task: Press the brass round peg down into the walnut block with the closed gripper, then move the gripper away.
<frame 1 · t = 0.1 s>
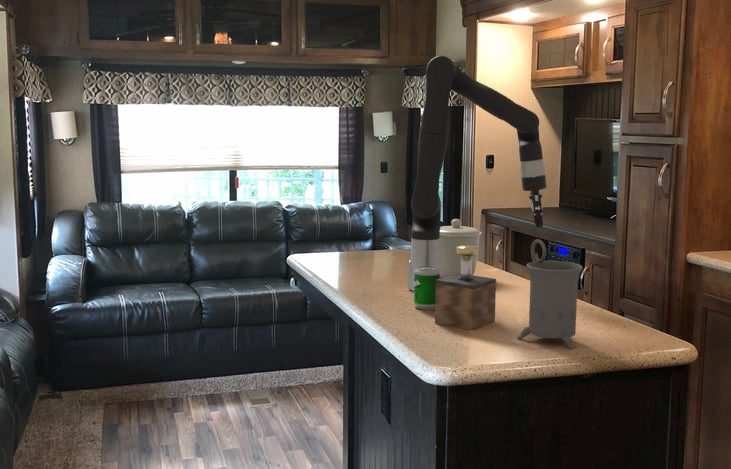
hand: (538, 225, 249), 22 cm above the worktop, tool pointing down, fingers open, 8 cm apart
canister: (454, 278, 279), on the worktop
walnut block: (465, 322, 217), on the worktop
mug: (549, 340, 200), on the worktop
brass round peg: (466, 268, 215), point 15 cm above the worktop, slide at 7.0 cm
soda can: (426, 307, 234), on the worktop
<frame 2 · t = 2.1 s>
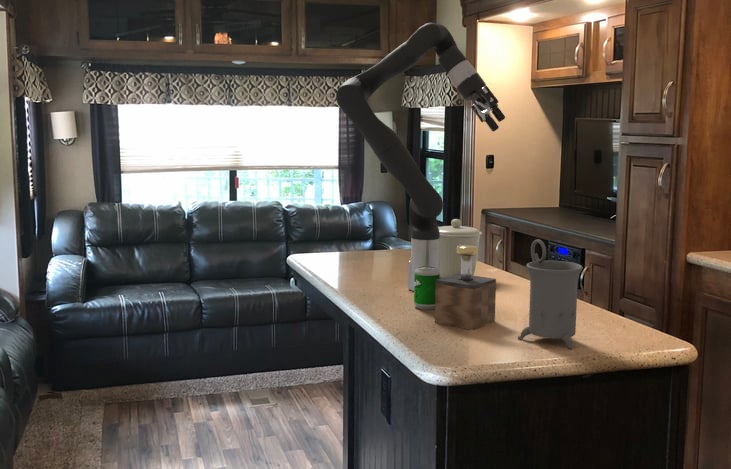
hand: (499, 125, 224), 54 cm above the worktop, tool tilted 40°, fingers open, 8 cm apart
nothing on the worktop moved.
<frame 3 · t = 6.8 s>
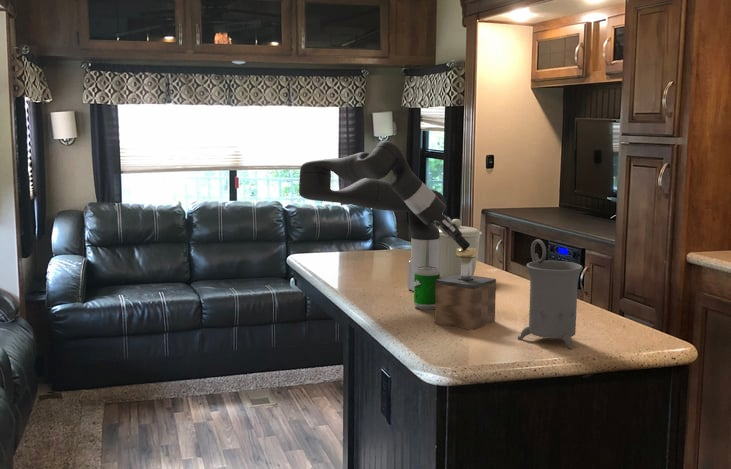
hand: (466, 247, 214), 21 cm above the worktop, tool tilted 45°, fingers closed
brass round peg: (466, 271, 215), point 14 cm above the worktop, slide at 6.3 cm, touching gripper
everything else where it was.
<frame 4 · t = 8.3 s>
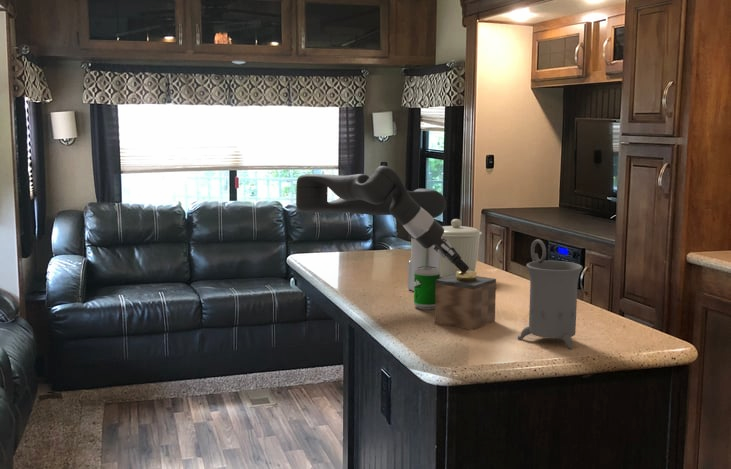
hand: (466, 270, 215), 15 cm above the worktop, tool tilted 45°, fingers closed
brass round peg: (465, 293, 216), point 8 cm above the worktop, slide at 0.0 cm, touching gripper, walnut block
everything else where it was.
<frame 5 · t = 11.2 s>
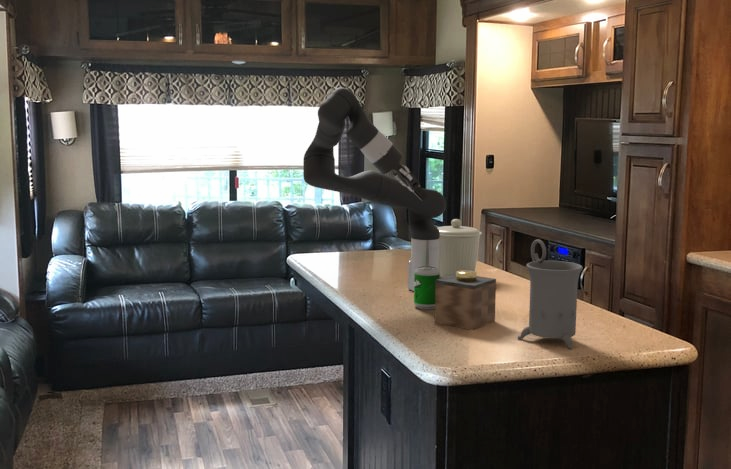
hand: (425, 198, 210), 34 cm above the worktop, tool tilted 45°, fingers closed
brass round peg: (465, 293, 216), point 8 cm above the worktop, slide at 0.0 cm, touching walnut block
everything else where it was.
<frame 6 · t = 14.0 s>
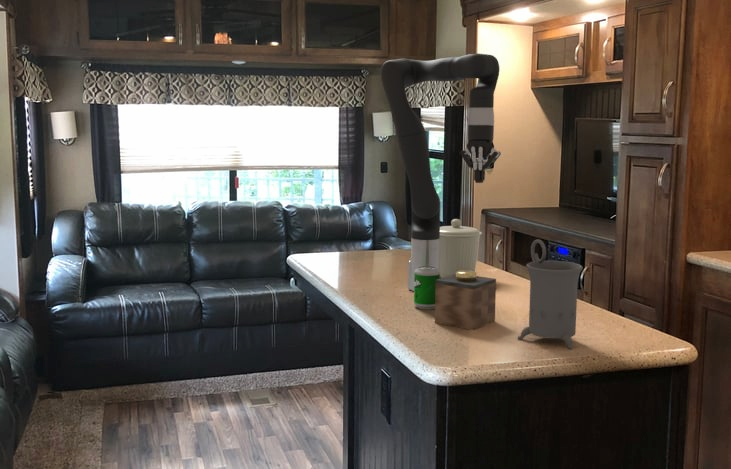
hand: (479, 182, 232), 37 cm above the worktop, tool pointing down, fingers closed
nothing on the worktop moved.
at the end: brass round peg slide at 0.0 cm; the gripper is holding nothing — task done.
